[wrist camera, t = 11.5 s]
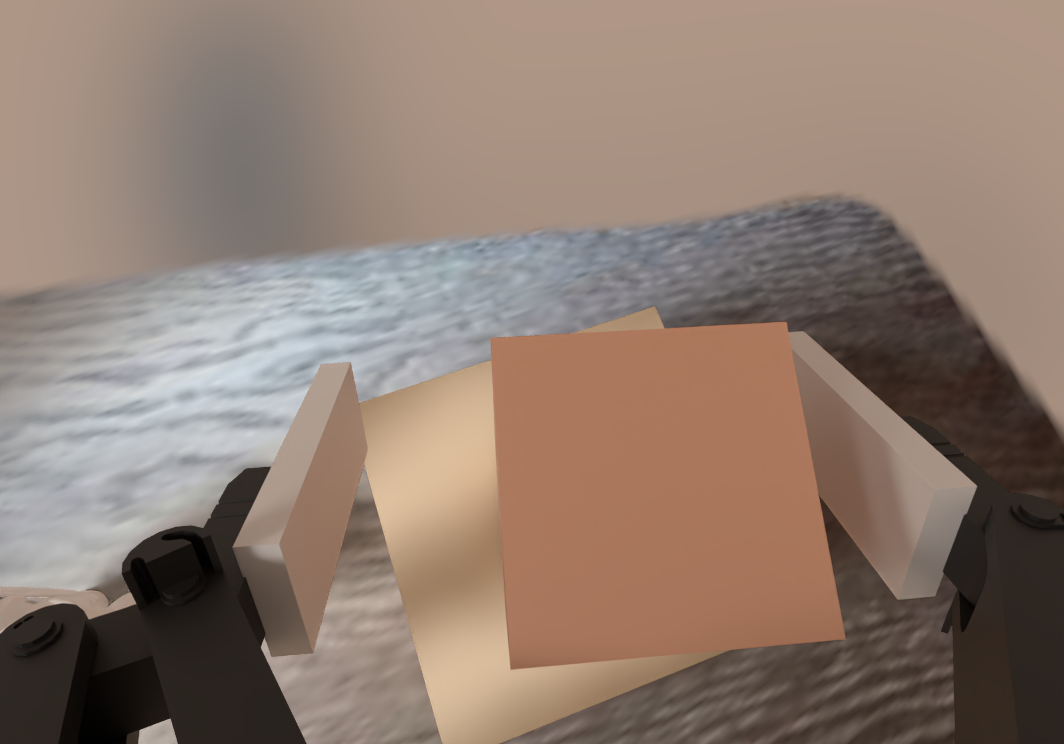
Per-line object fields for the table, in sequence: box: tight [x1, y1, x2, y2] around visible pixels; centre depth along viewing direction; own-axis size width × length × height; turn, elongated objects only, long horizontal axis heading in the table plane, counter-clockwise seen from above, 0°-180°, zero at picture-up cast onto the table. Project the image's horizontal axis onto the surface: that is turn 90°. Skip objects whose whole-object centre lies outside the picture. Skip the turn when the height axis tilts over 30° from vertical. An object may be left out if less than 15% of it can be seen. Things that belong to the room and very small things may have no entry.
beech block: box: [359, 306, 728, 744], centre depth 24 cm, size 12×12×6 cm
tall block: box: [491, 322, 846, 670], centre depth 15 cm, size 5×5×12 cm
